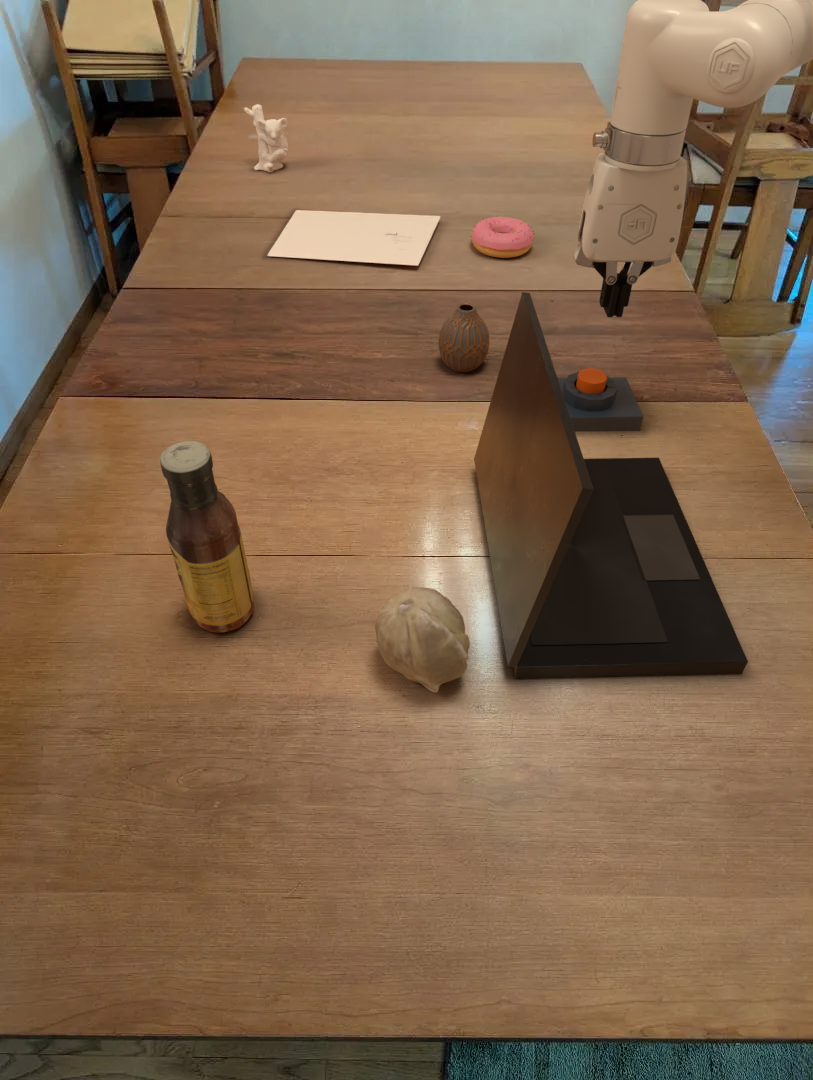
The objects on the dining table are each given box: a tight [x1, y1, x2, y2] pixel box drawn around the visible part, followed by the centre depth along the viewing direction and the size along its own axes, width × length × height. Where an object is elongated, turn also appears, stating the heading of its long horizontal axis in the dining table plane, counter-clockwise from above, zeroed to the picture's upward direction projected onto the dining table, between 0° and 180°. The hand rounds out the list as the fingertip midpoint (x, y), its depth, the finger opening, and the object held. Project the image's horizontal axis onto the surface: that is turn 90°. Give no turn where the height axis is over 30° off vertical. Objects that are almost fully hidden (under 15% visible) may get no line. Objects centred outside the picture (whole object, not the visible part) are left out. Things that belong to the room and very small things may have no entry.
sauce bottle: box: [159, 440, 255, 633], centre depth 70 cm, size 6×6×20 cm
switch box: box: [557, 370, 644, 433], centre depth 102 cm, size 12×9×4 cm
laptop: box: [512, 457, 749, 680], centre depth 83 cm, size 21×30×2 cm
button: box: [576, 367, 608, 394], centre depth 100 cm, size 4×4×2 cm
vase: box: [438, 302, 490, 373], centre depth 108 cm, size 7×7×9 cm
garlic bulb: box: [374, 586, 471, 693], centre depth 70 cm, size 9×8×10 cm
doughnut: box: [470, 215, 535, 259], centre depth 137 cm, size 11×11×4 cm
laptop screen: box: [473, 291, 593, 668], centre depth 74 cm, size 21×30×1 cm
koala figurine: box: [243, 103, 289, 173], centre depth 161 cm, size 8×7×12 cm
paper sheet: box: [266, 209, 442, 266], centre depth 141 cm, size 24×29×1 cm
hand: (611, 311), depth 93 cm, fingers closed
